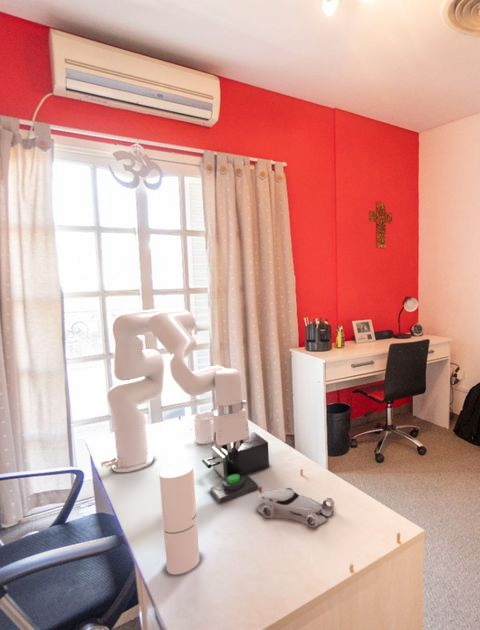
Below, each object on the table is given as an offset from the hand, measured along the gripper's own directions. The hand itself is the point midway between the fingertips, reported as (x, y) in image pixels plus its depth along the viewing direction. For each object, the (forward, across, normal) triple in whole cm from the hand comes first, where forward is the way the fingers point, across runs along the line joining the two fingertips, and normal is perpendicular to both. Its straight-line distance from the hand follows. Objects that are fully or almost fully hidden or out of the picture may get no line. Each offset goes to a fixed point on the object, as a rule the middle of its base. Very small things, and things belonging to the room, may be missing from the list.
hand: (233, 461), depth 137 cm
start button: (+7, 0, 0) cm, 7 cm away
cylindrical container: (+11, +22, +25) cm, 35 cm away
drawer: (+9, -4, -14) cm, 18 cm away
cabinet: (+10, -8, -14) cm, 19 cm away
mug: (+10, -6, -46) cm, 48 cm away
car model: (+11, -9, +24) cm, 27 cm away
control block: (+10, 0, 0) cm, 10 cm away
